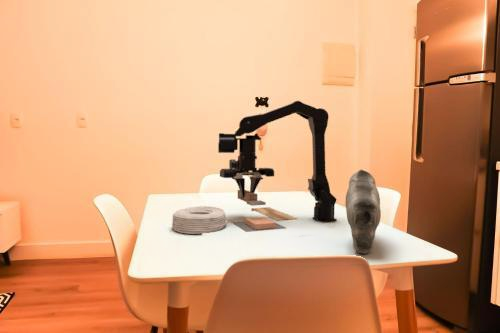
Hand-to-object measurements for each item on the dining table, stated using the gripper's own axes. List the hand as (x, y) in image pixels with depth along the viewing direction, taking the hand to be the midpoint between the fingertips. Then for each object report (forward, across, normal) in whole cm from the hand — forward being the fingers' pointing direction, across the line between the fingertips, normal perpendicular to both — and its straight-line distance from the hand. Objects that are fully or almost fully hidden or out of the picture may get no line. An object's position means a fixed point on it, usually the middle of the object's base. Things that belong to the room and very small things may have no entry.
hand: (247, 197), depth 128 cm
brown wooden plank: (+1, 0, +2) cm, 2 cm away
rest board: (+8, -13, -6) cm, 17 cm away
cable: (+9, +18, +5) cm, 21 cm away
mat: (+8, 0, +10) cm, 13 cm away
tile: (+7, 0, +7) cm, 10 cm away
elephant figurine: (+9, -19, +38) cm, 44 cm away
